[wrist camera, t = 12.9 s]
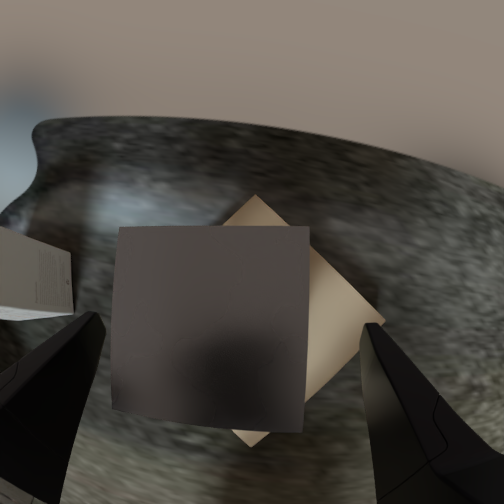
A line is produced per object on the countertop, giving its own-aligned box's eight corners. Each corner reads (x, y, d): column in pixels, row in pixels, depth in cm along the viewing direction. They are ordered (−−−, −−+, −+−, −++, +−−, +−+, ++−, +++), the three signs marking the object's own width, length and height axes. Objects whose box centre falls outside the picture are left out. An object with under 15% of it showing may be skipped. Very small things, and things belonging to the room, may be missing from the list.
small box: (72, 252, 24) (-14, 216, 14) (76, 315, 23) (-19, 304, 13) (18, 266, 25) (-61, 241, 15) (19, 321, 24) (-64, 312, 13)
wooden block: (373, 320, 21) (385, 320, 18) (254, 432, 20) (250, 447, 17) (259, 209, 24) (255, 194, 21) (147, 317, 23) (130, 316, 20)
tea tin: (295, 278, 19) (309, 226, 8) (293, 361, 18) (302, 433, 7) (213, 276, 20) (119, 226, 8) (210, 357, 19) (112, 408, 7)
